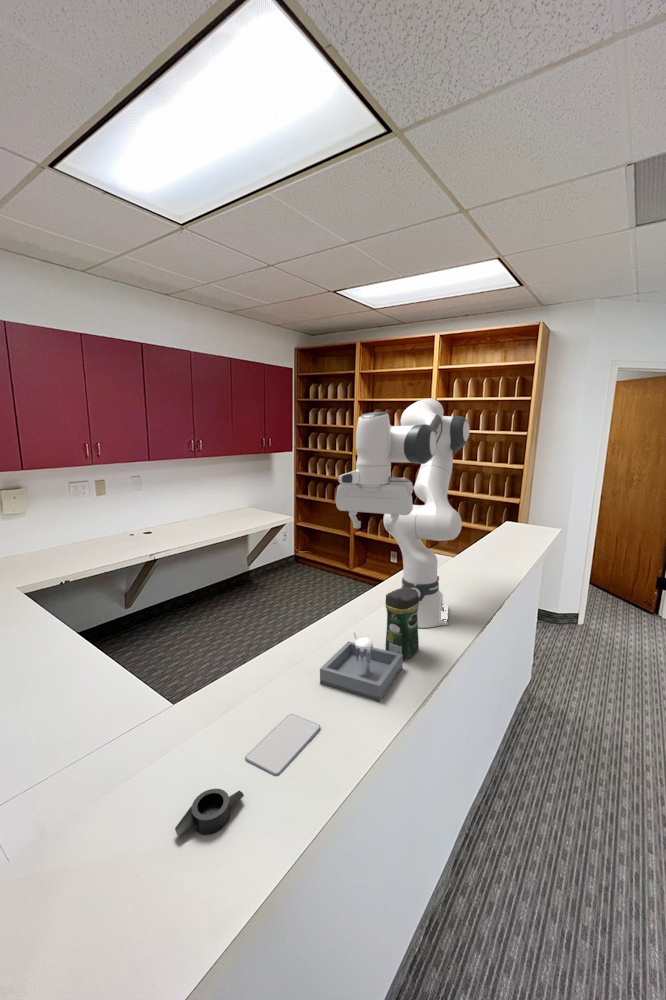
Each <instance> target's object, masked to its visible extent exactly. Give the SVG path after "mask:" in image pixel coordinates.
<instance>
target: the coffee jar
mask: <svg viewBox="0 0 666 1000" xmlns="http://www.w3.org/2000/svg"><path fill="white" fill-rule="evenodd" d="M384 604H385V608H386V632H385V633H386V634H385V635H386V637H385V648H384V650H386V651H390V652H395V653H399V654H403V661H404V660H407V659H409V658H412V657H413V656H414V655H416V654H417V653H418V652H419V649H420V645H419V644H420V643H419V642H420V641H419V628H418V618H417V615H418V606H419V597H418V593H417V591H416V590H415V589H411V588H408V587H403V588H402V587H401V588H397V589H394V590H392V591H390V592H388V593H386V595H385V603H384Z"/></svg>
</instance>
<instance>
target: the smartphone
mask: <svg viewBox="0 0 666 1000" xmlns="http://www.w3.org/2000/svg"><path fill="white" fill-rule="evenodd" d="M320 731H321V725H320V724H319V723H316V722H313V721H311V720H309V719H306V718H304V717H301V716H299V715H297V714H294V713H290V714H289V715H287V716H286V717H285V718H284V719H283V720H281V722H279V724H278V725H277V726H276V727H274V728H273V729H272V730H271V731H270V733H268V734H267V735H266V736H265V737H264V738H263V739H262V740H261V741H259V743H258V744H257V745H255V747H253V749H251V750H250V751H249V752H248V753H247V754H246V755H245V757H244V760H245V762H246V763H248V764H250V765H252V766H255V767H256V768H259V769H261V770H263V771H265V772H266V773H268V774H269V775H272V776H273V777H278V776H280V775H281V774H282V773H283V772H284V771H285V770H286V768H288V766H289V765H290V764H292V762H293V761H294V760H295V759H296V758H297V756H299V755H300V753H301V752H302V751H303V750H304V749H305V748H306V746H307V745H308V744H309V743H310V742H311V741H312V740H313V738H315V736H316V735H317V734H319V732H320Z"/></svg>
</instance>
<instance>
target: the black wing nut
mask: <svg viewBox="0 0 666 1000" xmlns="http://www.w3.org/2000/svg"><path fill="white" fill-rule="evenodd" d="M243 797H245V795H244V792H242V791H241V790H237V791H236V792H234V793H233V794H231V795H229V794H228V793H227V791H225V790H223V789H221V788H210V789H207V790H204V791H203V792H201V793H199V795H197V796H196V797H195V799H193V802H192V804H191V806H190V807H189V809H188V810H187V811H186V813H185V814H184V815H183V816H182V817H181V820H180V821H179V823H178V824H177V825H176V826H175V828H174V830H175V833H176V835H177V837H178V839H179V840H180V839H182V838H183V837H184V836H186V835H187V834H189V833H190V832H192V831H193V830H194V831H195V833H196V834H199V835H201V836H211V835H214V834H217V833H218V832H220V831H221V830H223V829H224V828H225V827H226V825H228V822H229V820H230V817H231V810H230V809H231V806H232V807H233V806H234V805H235V804H237V803H238V802H239V801H240V800H241V799H242V798H243Z"/></svg>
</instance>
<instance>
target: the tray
mask: <svg viewBox="0 0 666 1000" xmlns="http://www.w3.org/2000/svg"><path fill="white" fill-rule="evenodd" d="M403 661H404V660H403V654H399V653H395V652H390V651H386V650H385V649H381V648H377V647H374V646H373V649H372V660H371V673H370V675H368V676H361V675H359V674H358V671H357V658H356V648H355V642H352V641H347V642H346V643H345V644H344V645H343V646H342V647H341V648H339V650H337V652H336V653H334V654H333V655H332V656H331V657H330V658H329V659H328V660H327V661H326V662H325V663H324V664H323V665H322V666H321V667H320V668H319V684H320V685H323V686H326V687H330V688H333V689H336V690H339V691H342V692H346V693H349V694H352V695H355V696H359V697H363V698H366V699H369V700H372V701H375V702H378V703H380V702H381V701H382V699H383V698H384V696H386V694H387V692H388V691H389V689H390V688H391V687H392V685H393V684H394V682H395V680H396V679H397V677H398V676H399V675H400V673H401V671H402V670H403Z"/></svg>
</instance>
